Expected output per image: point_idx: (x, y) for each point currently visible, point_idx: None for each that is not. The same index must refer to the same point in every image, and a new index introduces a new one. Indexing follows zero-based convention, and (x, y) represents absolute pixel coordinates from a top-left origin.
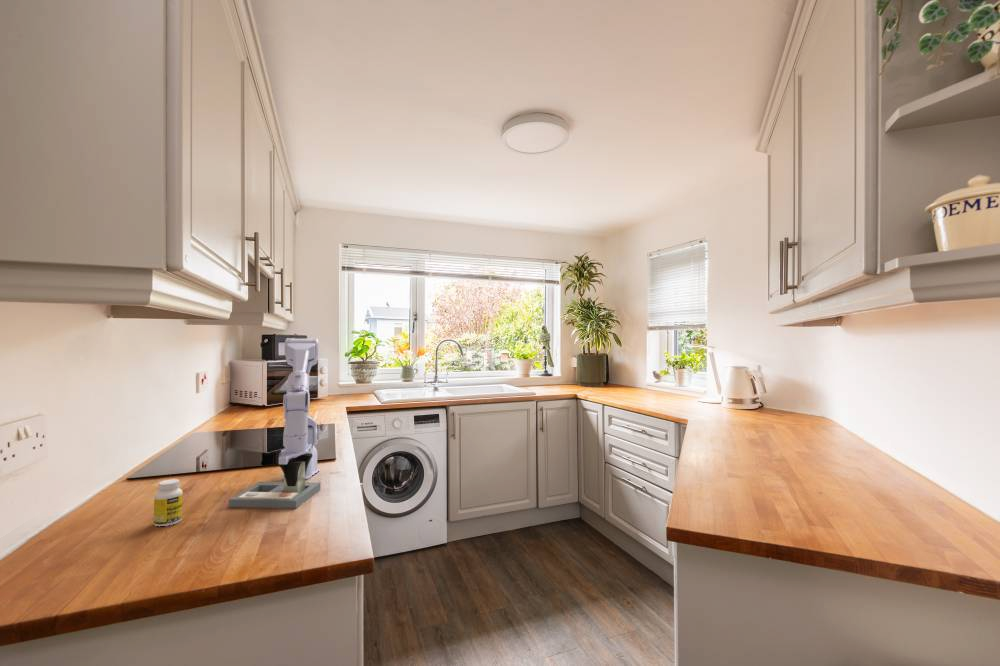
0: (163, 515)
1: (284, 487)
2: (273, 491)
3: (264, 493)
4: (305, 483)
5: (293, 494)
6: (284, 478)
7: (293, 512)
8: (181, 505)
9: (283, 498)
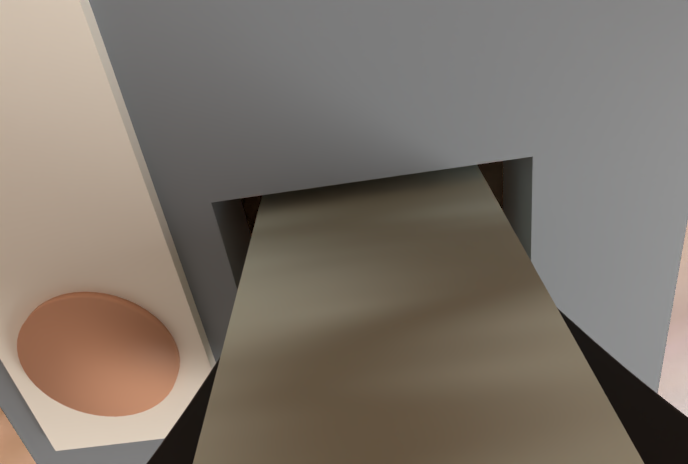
0: None
1: (251, 259)
2: (203, 60)
3: (7, 14)
4: (631, 294)
5: (164, 418)
6: (222, 368)
7: (13, 456)
8: None
9: (22, 384)
